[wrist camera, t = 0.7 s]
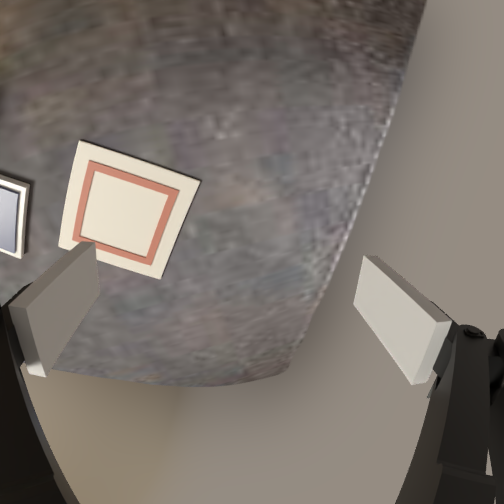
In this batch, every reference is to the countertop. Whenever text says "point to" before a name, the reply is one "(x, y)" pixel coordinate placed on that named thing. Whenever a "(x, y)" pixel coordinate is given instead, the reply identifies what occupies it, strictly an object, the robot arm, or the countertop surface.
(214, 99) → the countertop surface
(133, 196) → the print card
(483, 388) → the robot arm
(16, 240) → the ink pad
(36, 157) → the countertop surface
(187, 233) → the countertop surface
